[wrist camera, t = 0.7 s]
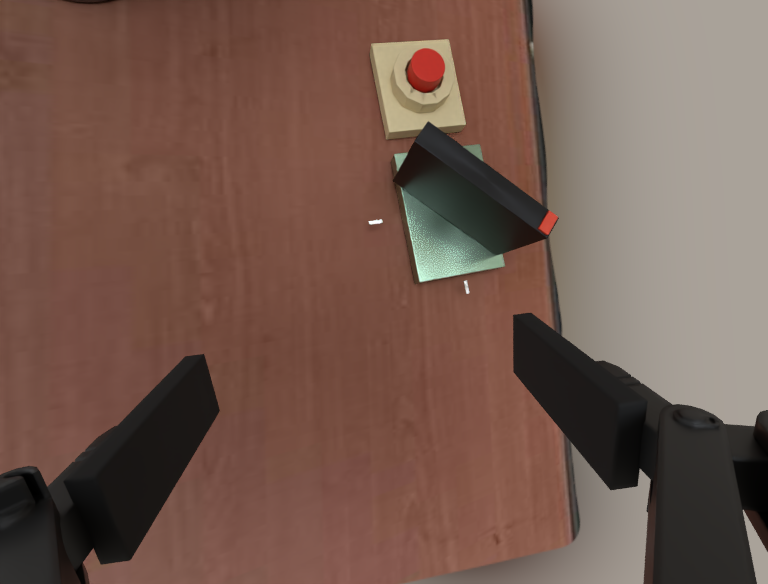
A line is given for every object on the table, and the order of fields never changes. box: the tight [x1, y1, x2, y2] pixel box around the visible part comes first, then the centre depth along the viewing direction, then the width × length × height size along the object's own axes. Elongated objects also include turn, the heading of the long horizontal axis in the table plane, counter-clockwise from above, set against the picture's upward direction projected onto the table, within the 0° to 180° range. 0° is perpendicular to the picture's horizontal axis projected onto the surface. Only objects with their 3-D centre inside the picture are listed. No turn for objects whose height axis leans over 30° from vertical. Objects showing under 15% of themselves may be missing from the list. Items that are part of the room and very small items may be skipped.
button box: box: [370, 39, 466, 140], centre depth 40 cm, size 10×9×4 cm
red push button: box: [407, 48, 445, 92], centre depth 38 cm, size 4×4×2 cm
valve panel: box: [369, 144, 505, 294], centre depth 41 cm, size 18×18×2 cm
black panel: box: [393, 121, 559, 255], centre depth 35 cm, size 14×2×9 cm, turn 57°
